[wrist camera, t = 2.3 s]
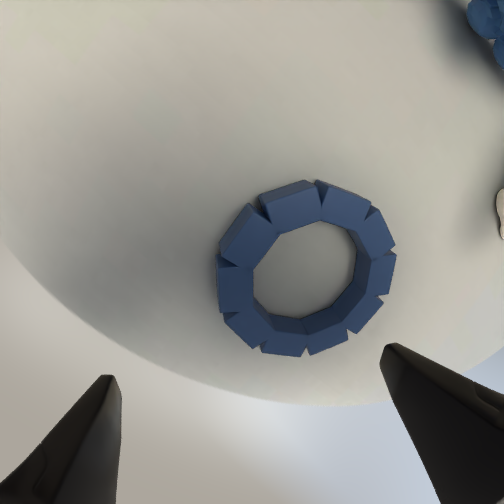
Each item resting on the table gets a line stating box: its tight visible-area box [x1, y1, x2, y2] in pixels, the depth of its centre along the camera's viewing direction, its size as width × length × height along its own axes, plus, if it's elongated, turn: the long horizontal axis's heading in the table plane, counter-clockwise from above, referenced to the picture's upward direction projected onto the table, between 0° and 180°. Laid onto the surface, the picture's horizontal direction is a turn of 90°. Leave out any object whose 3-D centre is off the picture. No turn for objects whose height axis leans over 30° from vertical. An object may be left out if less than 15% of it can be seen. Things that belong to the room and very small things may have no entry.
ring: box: [215, 180, 397, 357], centre depth 16 cm, size 9×10×2 cm
